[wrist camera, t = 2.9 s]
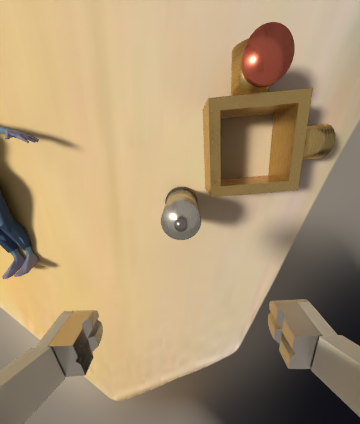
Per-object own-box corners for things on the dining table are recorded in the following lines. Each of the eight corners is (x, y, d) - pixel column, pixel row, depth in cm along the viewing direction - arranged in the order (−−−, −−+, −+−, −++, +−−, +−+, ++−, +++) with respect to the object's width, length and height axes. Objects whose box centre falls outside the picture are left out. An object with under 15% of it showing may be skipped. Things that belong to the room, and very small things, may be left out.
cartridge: (167, 217, 27) (160, 247, 19) (164, 188, 26) (155, 205, 17) (197, 215, 27) (204, 244, 18) (195, 185, 25) (203, 201, 17)
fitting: (205, 188, 25) (212, 199, 19) (201, 62, 20) (209, 24, 14) (303, 180, 25) (342, 189, 19) (324, 49, 20) (386, 3, 14)
